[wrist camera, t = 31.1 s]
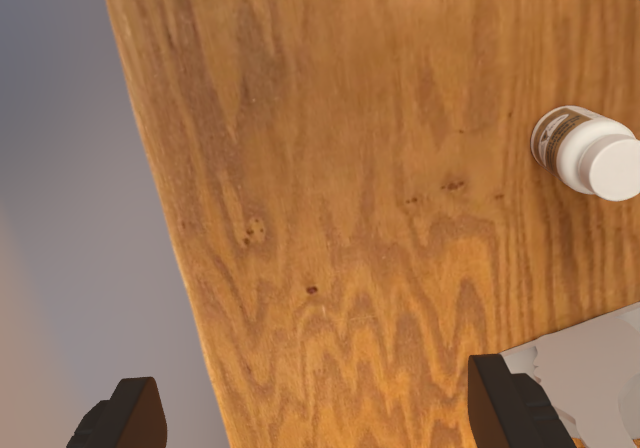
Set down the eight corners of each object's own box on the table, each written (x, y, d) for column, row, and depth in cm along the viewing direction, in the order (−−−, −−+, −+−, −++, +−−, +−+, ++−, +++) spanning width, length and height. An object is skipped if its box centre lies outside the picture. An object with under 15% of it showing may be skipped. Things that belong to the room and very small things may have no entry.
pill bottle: (542, 98, 34) (598, 122, 27) (606, 111, 35) (679, 139, 27) (519, 163, 36) (567, 202, 29) (581, 175, 36) (644, 217, 29)
